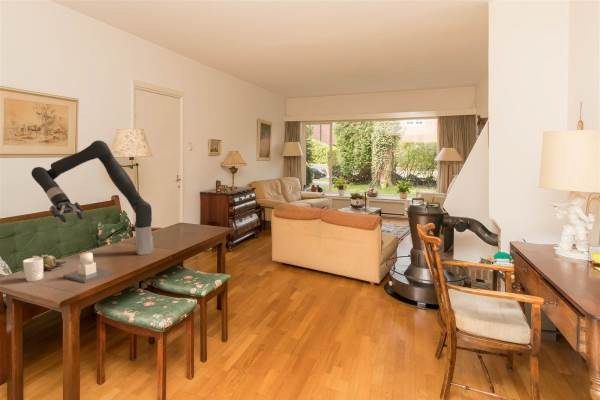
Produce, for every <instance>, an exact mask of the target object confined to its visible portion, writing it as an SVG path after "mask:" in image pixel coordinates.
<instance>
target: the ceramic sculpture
mask: <svg viewBox="0 0 600 400" xmlns="http://www.w3.org/2000/svg"><path fill="white" fill-rule="evenodd" d="M37 257H41V258H43V270H44V269H45V270H48V271H49V270H50V271H51V270H54V269H56V268H57V267H56V266H61V265H64V264H66V263H67V261H63V260H60V259H57V258H56V257H55V256H54V255H52V254H49V255H48V253H43V254H41V255H40V256H39V255H32V256H31V258H37Z"/></svg>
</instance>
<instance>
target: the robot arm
mask: <svg viewBox="0 0 600 400" xmlns="http://www.w3.org/2000/svg"><path fill="white" fill-rule="evenodd" d="M96 159H98V160H99V161H100V163H102V165H103V166H104V168H105V171H106V173H107V174H108V176H109V179H110V180H111V181H112V183H113V184H114V186H115V187H116V188H117V189H118V191H119V192H120V193H121V194H122V195H123V197H125V199H126V200H127V201H128V203H129V205H130V207H131V209H132V210H133V212H134V213H135V222H134V231H135V233H134V234H135V235H134V236H135V250H136V253H135V254H136V255H138V256H141V255H142V256H143V255H150V254H152V253H153V252H154V250H155V249H154V237H153V236H152V233H153V232H152V222H153V215H152V214H153V213H152V206H151V204H150V203H149V202H147V201H146V200H144V199H143V197H142V196H141V195H140V193H138V191H137V189H136V186H135V183H134V182H133V180H132V179H131V177H130V176H129V174H128V173H127V171H125V168H124V167H123V166H122V165H121V164H120V163H119V162H118V161H117V159H116V158H115V156H114V154H113V153H112V152H111V149H110V147H109V145H108V144H107V143H106V141H105V142H104V140H103V141H102V140H100V139H99V140H94V141H93V142H91V143H90V145H88V146H87V147H85V148H84V149H82V150H80V151H78V152H77V153H74V154H70V155H68V156H65V157H63V158H61V159H58V160H56V161H53V162H52V163H51V164H50V169H46V168H44V167H42V166H36V167H34V168H33V169H32V170H31V172H30V173H31V177H32V178H33V179H34V181H35V182H36V183H37V184H38V185H39V186H40V187H41V189H42V190H43V192H44V193H45V194H46V196H47V198H48V199H49V201H50V203H51V204H52V205H51V206H50V208H49V210H50V213H51V214H52V216H53V217H54V218H59V219H60V221H61V222H63V223H67V221H68V219H67V218H66V216H65V215H64V214H66V213H72V214H75V215H76V216H77V217H78V219H79V220H81V221H82V220H83V218H84V215H83V213H82V212H83V211H84V209H83V207H82V206H81V205H80V204H79V203H78V202H75V203H72V202H71V200H70V199H69V197H68V196H67V194H66V193H65V191H64V190H63V189H62V188H61V187H60V185H59V184H58V183H57V181H55V180H56V179H57V178H58V177H59V176H61V175H62V174H64V173H66V172H68V171H71V170H72V169H74V168H76V167H78V166H80V165H82V164H85V163H87V162H90V161H92V160H96ZM58 211H59V212H58ZM63 213H64V214H63Z"/></svg>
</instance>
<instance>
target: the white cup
mask: <svg viewBox="0 0 600 400" xmlns="http://www.w3.org/2000/svg"><path fill="white" fill-rule="evenodd" d="M22 265H23V272H24V276H25V280H26V282H28V283H29V282H36V281H40V280H43V279H44V268H43V258H41V257H40V256H39V257H37V258H32V257H31V258H30V257H29V258H26V259H24V260H22Z"/></svg>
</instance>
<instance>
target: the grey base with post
mask: <svg viewBox="0 0 600 400" xmlns="http://www.w3.org/2000/svg"><path fill="white" fill-rule="evenodd" d="M111 274H112V271H111V270H109V269H108V270H107V269H102V268H100V267H96V272H95V273H92V274H89V275H81V274H79V273H78V270H76V271H73V272H70V273H65V274H63V279H67V280H72V281H75V282H80V283H83V284H84V283H88V282H89V283H90V282H92V281H94V280H97V279H100V278H103V277H105V276H109V275H111Z"/></svg>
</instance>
